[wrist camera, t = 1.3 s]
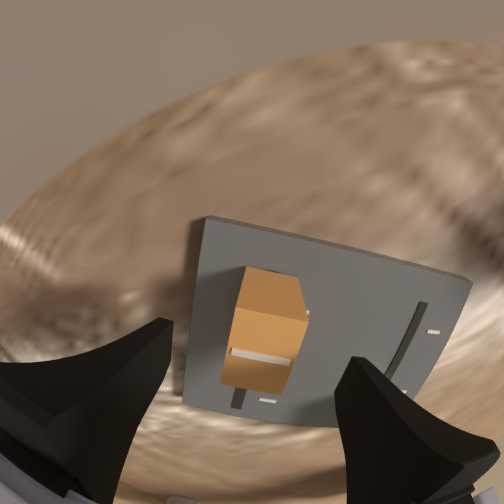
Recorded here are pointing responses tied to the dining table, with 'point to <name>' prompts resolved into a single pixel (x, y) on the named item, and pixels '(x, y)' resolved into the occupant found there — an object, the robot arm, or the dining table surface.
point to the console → (317, 319)
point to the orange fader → (265, 332)
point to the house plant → (180, 500)
